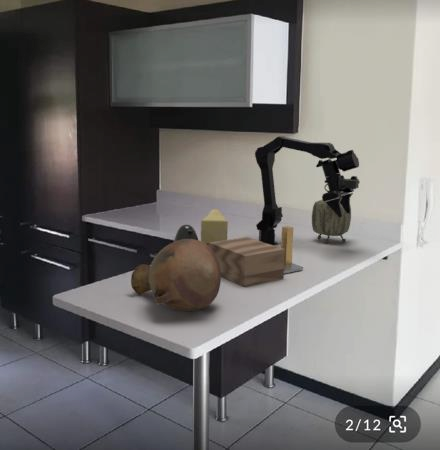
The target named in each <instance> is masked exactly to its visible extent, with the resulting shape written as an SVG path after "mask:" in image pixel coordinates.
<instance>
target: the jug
mask: <svg viewBox="0 0 440 450" xmlns="http://www.w3.org/2000/svg"><path fill="white" fill-rule="evenodd" d="M221 279H222V277H221V271H220V265H219V262H218V259H217V257H216V255H215V253H214V251H213V247H212V246H211V244H210V243H206V244H205V243H204V242H202V241H201V240H199V239H198V240H195V239H182V240H178V241H175V242H174V241H173V242H171V243H168V244H167V245H165V246H164V247H163V248H161V250H159V252H157V254H156V255H155V256H154V258H153V259H152V261H151V264H146V263H142V264H138V266H136V267H135V268H134V271H132V272H131V278H130V283H131V284H130V285H131V288H132V290H133V291H134V292H135V294H137V295H139V296H141V295H143V294H145V293H147V292H149V291H151V292H152V294H153V299H154V300H155V303H156V304H157V305H165V306H166V307H168V308H170V309H173V310H176V311H180V312H181V311H182V312H192V311H193V312H194V311H198V310H202V309H203V308H206V307H208V306H210V305H211V304H212V303H213V302H214V301H215V299H216V298H217V296H218V294H219V292H220V288H221Z"/></svg>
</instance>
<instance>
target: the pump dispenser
mask: <svg viewBox="0 0 440 450" xmlns="http://www.w3.org/2000/svg"><path fill="white" fill-rule="evenodd" d="M182 239H195V240H199V238H198V234H197V232H196V230H195V228H194V227H193V226H192V225H190V224H187V223H186V224H182V225H181V226H179V228H178V229H177V231H176V233H175V236H174V240H173V242H175V241H178V240H182Z"/></svg>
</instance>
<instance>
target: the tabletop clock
mask: <svg viewBox="0 0 440 450" xmlns="http://www.w3.org/2000/svg"><path fill="white" fill-rule="evenodd" d="M326 187H328V185H327V183H325V185H324V187H323V188H324V190H325V191H326V193H327V192H328V191H329V189H327V188H326ZM325 202H327V201H324V202H323V199H319V200H317V201H314V204H313V206H312V212H311V226H312V231H313V232H314V233H316V234H318V235H317V239H318V240H321V238H322V235H324V236H326V237H327V239H326V240H325V243H326V244H330V242H331V240H330V236H331V237H339V236H340V238H341V242H342V243H346V241H347V240H346V238H344V237H343V235H344V234H346V233H348V232H349V229H350V226H351V219H352V207H351V205H350V213H347V212H346V211H345V210H344V208H343V207H342V205H341V204H340V205H341V211H342V217H339V216H338V215H337V214H336V213H335V212H334V211H333V210H332V209H331V208H330V207H329V206H328V204H327V203H325Z"/></svg>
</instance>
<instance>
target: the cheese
mask: <svg viewBox="0 0 440 450" xmlns="http://www.w3.org/2000/svg"><path fill="white" fill-rule="evenodd" d="M228 224H229V223H228V220H227V219H226V217H225V216H224V214H223V213H221V211H220V210H219V209H217V208H216V209H215V208H213V209H211V210H210V212H209V213H208V214H207V215H206V216H205V217H204V218H202V219H201V220H200V241H202V242H204V243H205V244H206V243H210V242H217V241H223V240H228V228H229V225H228Z"/></svg>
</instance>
